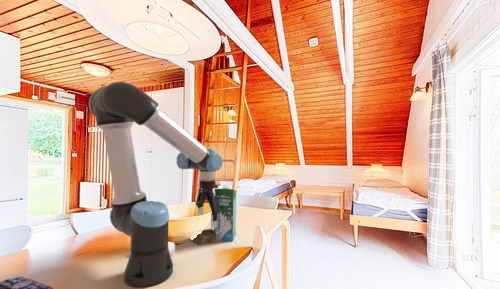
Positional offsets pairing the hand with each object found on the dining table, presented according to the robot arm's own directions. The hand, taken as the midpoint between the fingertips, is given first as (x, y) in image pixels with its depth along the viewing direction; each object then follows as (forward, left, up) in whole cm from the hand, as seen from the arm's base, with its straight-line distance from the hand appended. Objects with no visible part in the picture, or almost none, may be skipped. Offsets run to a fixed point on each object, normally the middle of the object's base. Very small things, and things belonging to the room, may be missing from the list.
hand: (206, 224), depth 117 cm
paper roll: (-21, -9, -4) cm, 23 cm away
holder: (0, 0, -7) cm, 7 cm away
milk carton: (+8, -4, -8) cm, 12 cm away
